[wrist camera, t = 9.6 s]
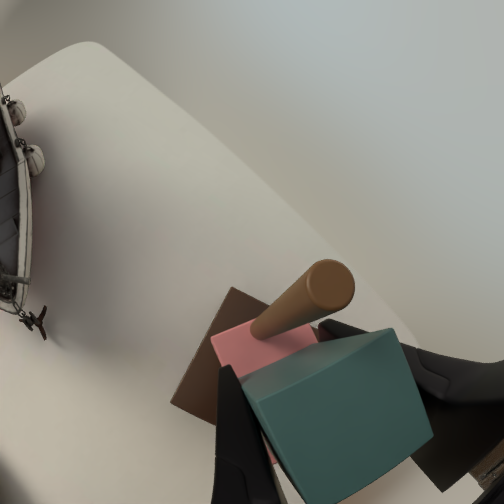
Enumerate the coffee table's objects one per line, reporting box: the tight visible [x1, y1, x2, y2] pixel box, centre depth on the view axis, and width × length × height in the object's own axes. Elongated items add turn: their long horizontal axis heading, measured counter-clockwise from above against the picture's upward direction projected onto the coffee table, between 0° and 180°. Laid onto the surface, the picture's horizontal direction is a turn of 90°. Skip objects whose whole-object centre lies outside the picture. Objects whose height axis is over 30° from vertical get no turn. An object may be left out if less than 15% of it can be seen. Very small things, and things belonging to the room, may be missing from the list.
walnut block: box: [170, 287, 320, 426], centre depth 17 cm, size 8×8×2 cm
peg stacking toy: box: [211, 259, 434, 504], centre depth 8 cm, size 6×4×10 cm, turn 24°
